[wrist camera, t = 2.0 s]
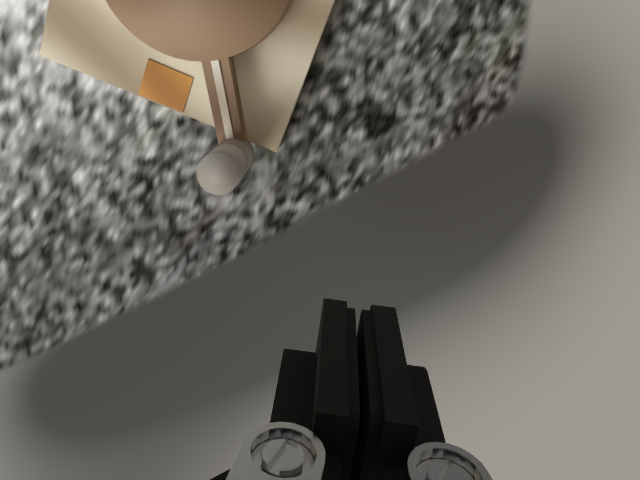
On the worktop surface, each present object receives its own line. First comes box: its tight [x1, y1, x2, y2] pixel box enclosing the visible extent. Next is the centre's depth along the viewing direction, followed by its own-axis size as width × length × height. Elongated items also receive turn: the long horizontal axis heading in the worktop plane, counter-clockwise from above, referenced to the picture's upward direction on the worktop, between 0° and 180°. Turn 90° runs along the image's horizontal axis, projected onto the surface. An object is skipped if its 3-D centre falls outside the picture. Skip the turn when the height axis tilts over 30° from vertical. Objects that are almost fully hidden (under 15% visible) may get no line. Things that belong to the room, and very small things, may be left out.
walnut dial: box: [106, 0, 292, 195], centre depth 24 cm, size 16×10×5 cm, turn 8°
